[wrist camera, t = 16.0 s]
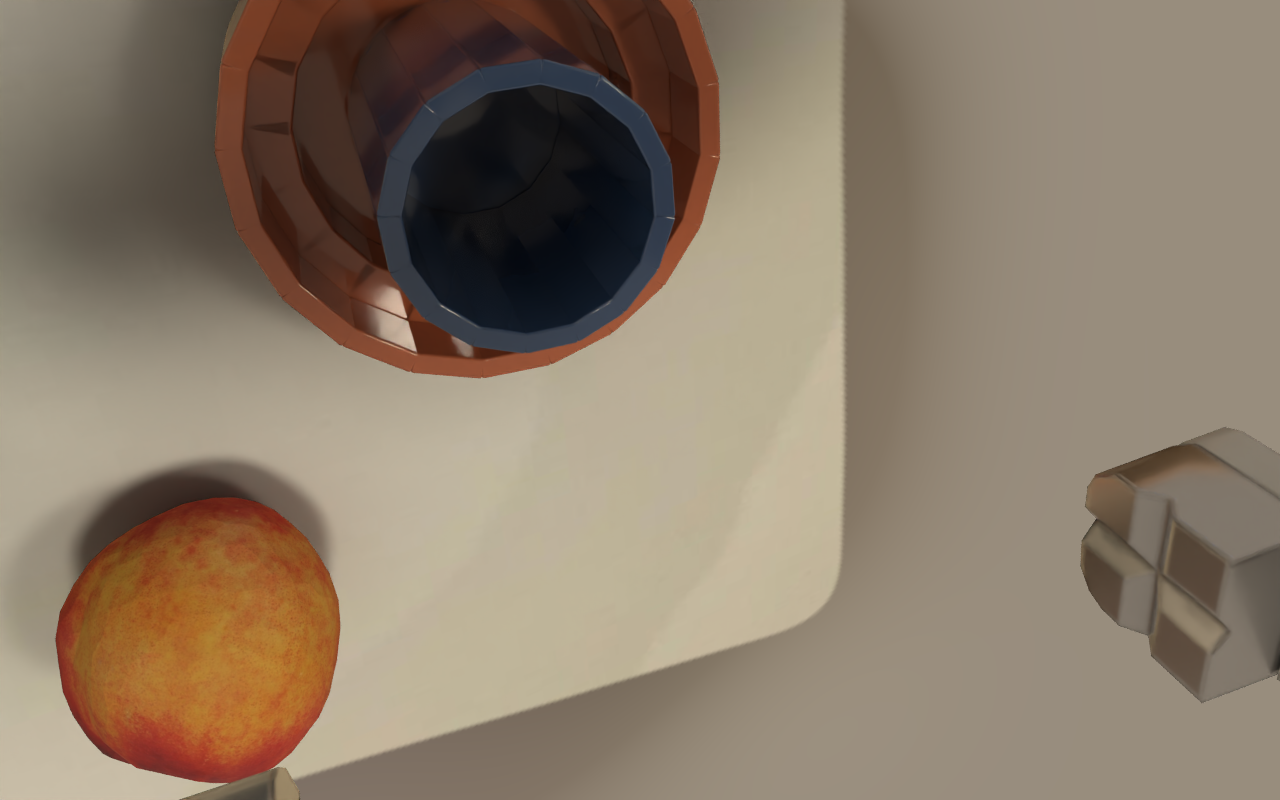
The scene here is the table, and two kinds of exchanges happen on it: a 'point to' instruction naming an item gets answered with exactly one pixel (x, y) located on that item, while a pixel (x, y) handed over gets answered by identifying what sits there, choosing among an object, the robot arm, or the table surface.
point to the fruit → (201, 642)
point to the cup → (506, 177)
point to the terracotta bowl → (332, 182)
